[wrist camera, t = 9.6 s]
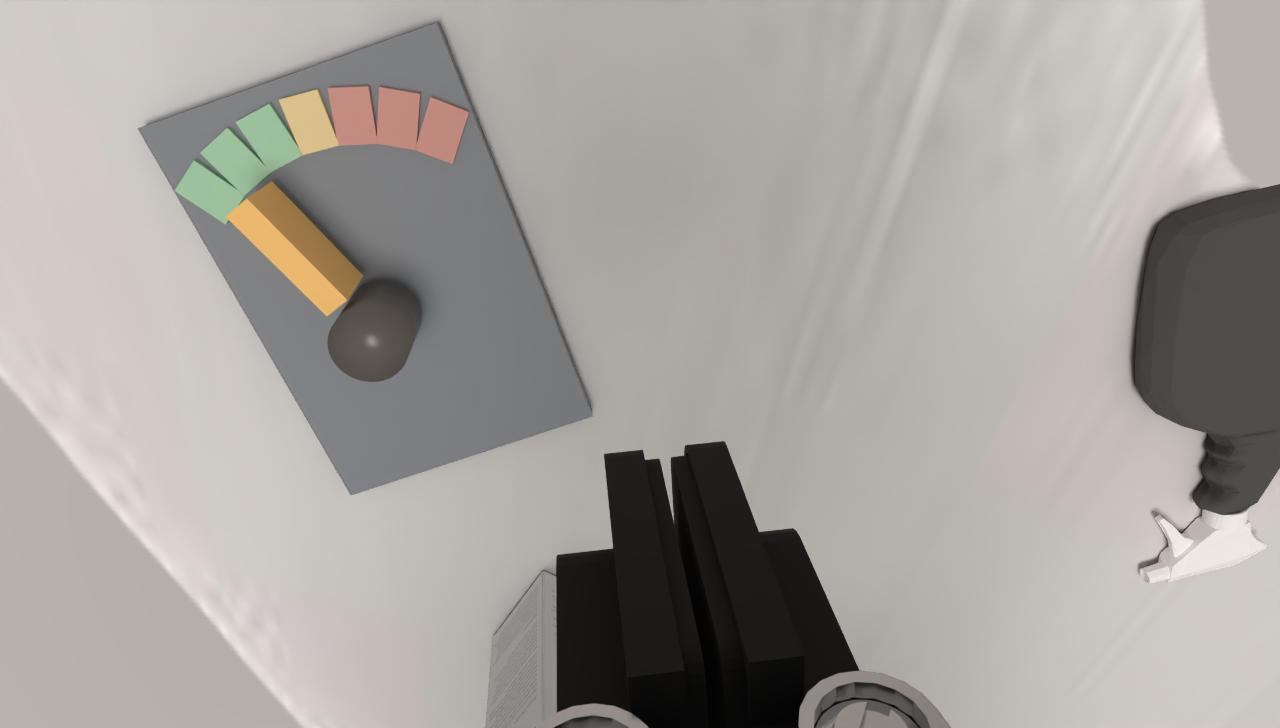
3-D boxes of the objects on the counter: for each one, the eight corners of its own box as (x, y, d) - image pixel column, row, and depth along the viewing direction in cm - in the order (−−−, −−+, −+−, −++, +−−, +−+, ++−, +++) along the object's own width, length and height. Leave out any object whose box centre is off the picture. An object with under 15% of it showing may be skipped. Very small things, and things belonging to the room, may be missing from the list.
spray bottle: (1336, 164, 42) (1270, 534, 53) (1130, 213, 42) (1107, 573, 53) (1389, 177, 39) (1308, 564, 50) (1170, 230, 39) (1137, 605, 50)
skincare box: (551, 661, 51) (550, 845, 40) (491, 636, 49) (473, 819, 38) (604, 594, 49) (619, 768, 38) (543, 566, 47) (540, 737, 37)
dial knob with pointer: (436, 319, 39) (425, 352, 35) (384, 360, 39) (367, 396, 36) (291, 165, 35) (262, 184, 32) (235, 212, 36) (201, 236, 32)
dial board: (592, 408, 43) (593, 421, 42) (354, 486, 44) (348, 501, 43) (439, 21, 35) (434, 23, 33) (146, 125, 35) (131, 130, 34)
